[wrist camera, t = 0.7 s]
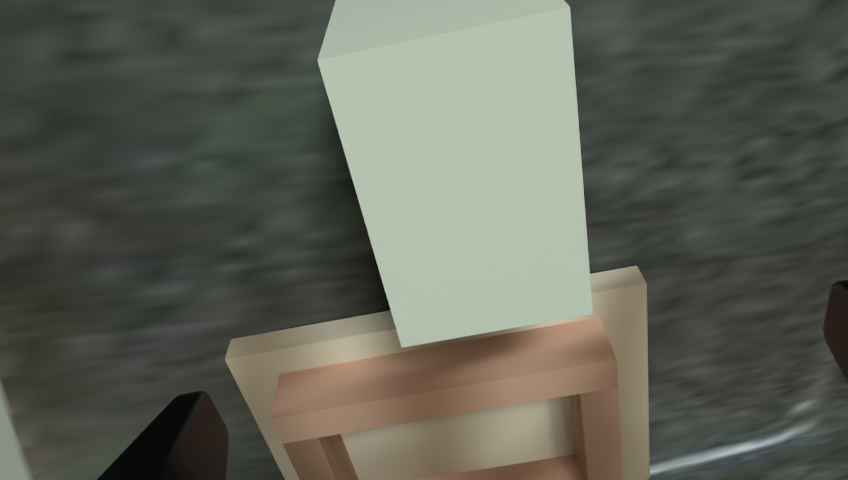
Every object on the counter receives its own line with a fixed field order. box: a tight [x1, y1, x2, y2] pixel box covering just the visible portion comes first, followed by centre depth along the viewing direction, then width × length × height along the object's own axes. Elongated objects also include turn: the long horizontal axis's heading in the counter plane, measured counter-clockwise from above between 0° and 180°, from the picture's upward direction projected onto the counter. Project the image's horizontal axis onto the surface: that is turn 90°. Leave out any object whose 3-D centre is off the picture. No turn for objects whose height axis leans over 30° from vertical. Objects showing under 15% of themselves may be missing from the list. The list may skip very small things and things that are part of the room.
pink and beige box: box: [225, 266, 650, 480], centre depth 24 cm, size 14×10×3 cm
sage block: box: [317, 0, 593, 348], centre depth 16 cm, size 4×7×6 cm, turn 11°
